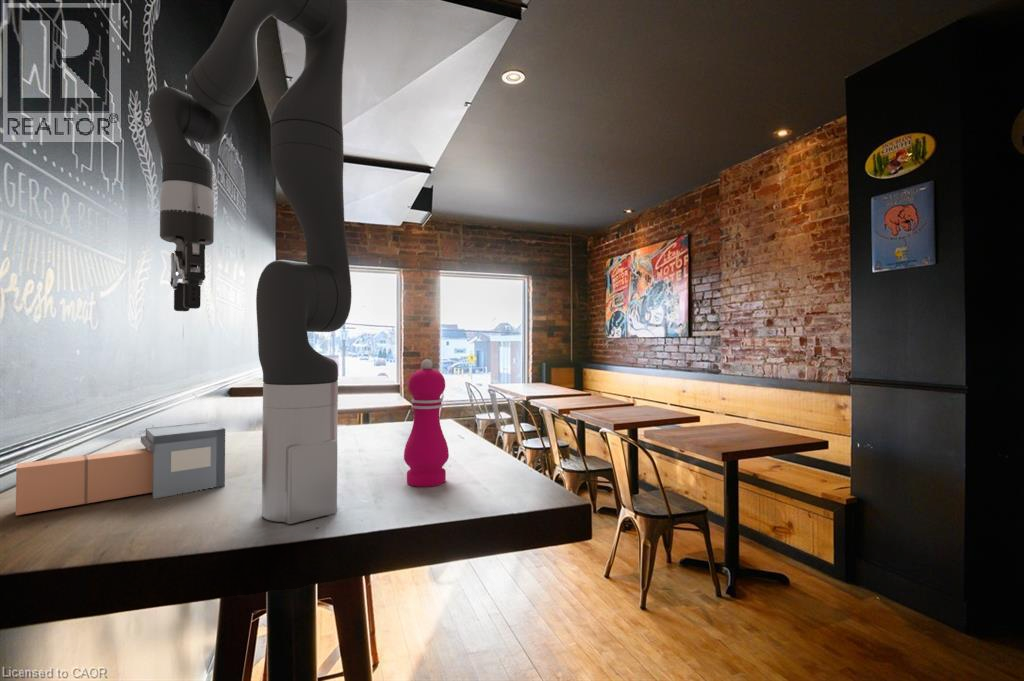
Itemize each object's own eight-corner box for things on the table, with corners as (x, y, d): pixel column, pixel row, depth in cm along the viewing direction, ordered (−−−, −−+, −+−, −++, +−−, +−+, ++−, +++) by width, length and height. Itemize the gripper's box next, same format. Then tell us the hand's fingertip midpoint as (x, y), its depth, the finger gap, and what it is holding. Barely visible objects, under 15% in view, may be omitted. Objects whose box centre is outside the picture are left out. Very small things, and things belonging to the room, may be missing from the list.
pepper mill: (424, 491, 73) (425, 360, 73) (394, 482, 77) (395, 359, 77) (457, 480, 79) (458, 359, 79) (427, 473, 83) (428, 358, 83)
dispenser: (225, 486, 75) (225, 429, 75) (148, 500, 68) (149, 436, 68) (210, 474, 82) (211, 421, 82) (140, 485, 75) (140, 428, 75)
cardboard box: (160, 491, 71) (160, 450, 71) (15, 515, 61) (16, 468, 61) (156, 486, 74) (156, 446, 74) (17, 508, 64) (17, 462, 64)
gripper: (223, 209, 78) (222, 308, 78) (203, 225, 88) (203, 313, 88) (167, 200, 73) (166, 306, 73) (153, 217, 83) (152, 310, 83)
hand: (186, 309), depth 80 cm, fingers open, 8 cm apart
